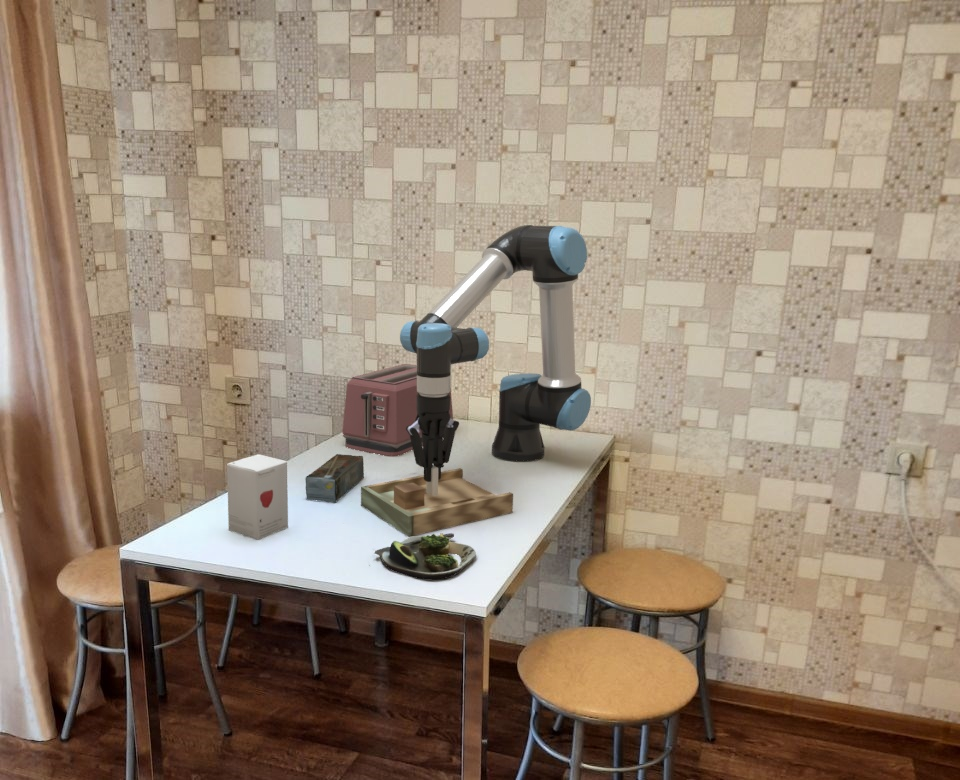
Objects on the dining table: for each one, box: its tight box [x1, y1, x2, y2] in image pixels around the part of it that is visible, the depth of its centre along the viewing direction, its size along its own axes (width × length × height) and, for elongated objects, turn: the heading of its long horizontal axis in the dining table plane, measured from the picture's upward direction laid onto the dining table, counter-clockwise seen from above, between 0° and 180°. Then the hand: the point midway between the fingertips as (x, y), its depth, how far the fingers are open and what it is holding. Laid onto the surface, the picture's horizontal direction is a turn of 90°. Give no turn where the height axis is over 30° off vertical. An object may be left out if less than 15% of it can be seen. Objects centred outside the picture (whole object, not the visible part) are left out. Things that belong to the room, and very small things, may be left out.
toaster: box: [342, 363, 454, 457], centre depth 239 cm, size 19×34×20 cm, turn 151°
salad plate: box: [373, 532, 477, 581], centre depth 160 cm, size 19×18×5 cm
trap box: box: [360, 468, 514, 538], centre depth 186 cm, size 28×22×4 cm
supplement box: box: [226, 453, 289, 541], centre depth 170 cm, size 9×9×15 cm
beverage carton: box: [304, 453, 365, 504], centre depth 198 cm, size 8×19×7 cm, turn 167°
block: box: [394, 483, 425, 510], centre depth 181 cm, size 5×5×4 cm
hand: (432, 493), depth 185 cm, fingers closed
